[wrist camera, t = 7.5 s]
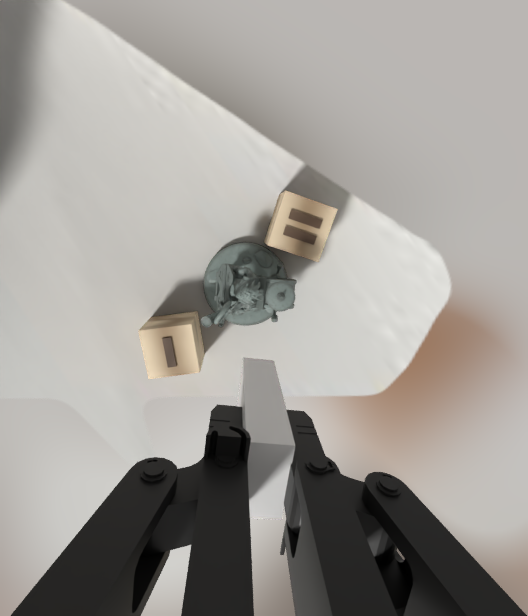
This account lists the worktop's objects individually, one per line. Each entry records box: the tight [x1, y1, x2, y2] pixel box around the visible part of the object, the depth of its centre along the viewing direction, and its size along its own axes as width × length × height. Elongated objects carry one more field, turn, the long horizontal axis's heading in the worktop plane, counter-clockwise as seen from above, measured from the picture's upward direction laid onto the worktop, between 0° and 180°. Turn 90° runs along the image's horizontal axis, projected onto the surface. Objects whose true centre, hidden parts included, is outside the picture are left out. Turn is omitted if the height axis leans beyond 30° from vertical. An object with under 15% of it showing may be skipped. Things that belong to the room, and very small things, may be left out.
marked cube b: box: [264, 191, 338, 262], centre depth 40 cm, size 6×6×6 cm
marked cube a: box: [138, 311, 205, 379], centre depth 42 cm, size 6×6×6 cm
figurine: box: [201, 242, 297, 327], centre depth 38 cm, size 11×11×12 cm
